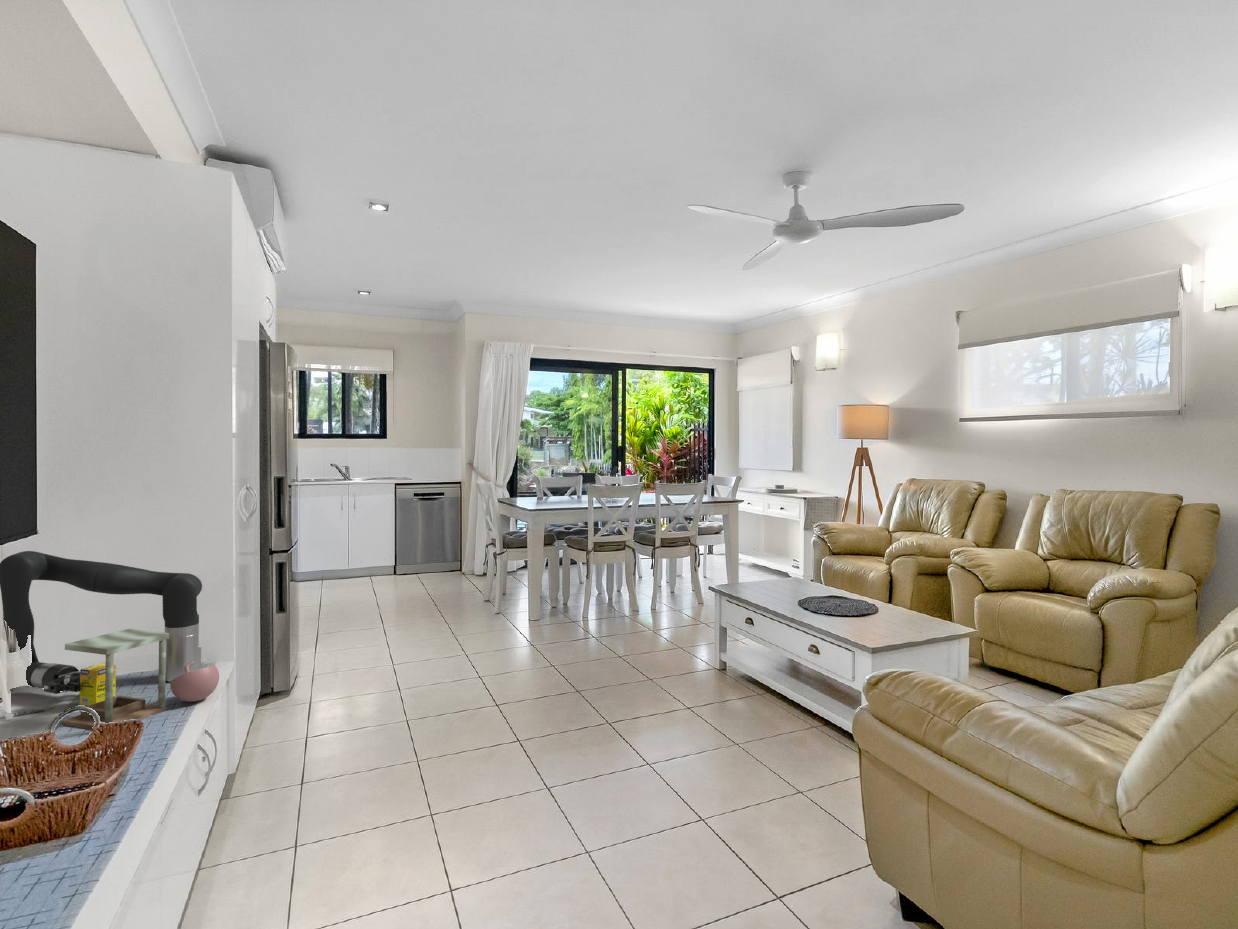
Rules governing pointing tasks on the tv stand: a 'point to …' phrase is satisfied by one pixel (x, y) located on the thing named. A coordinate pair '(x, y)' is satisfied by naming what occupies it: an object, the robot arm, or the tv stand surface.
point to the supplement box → (94, 684)
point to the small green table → (119, 705)
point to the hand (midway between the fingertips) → (95, 683)
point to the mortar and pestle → (195, 683)
